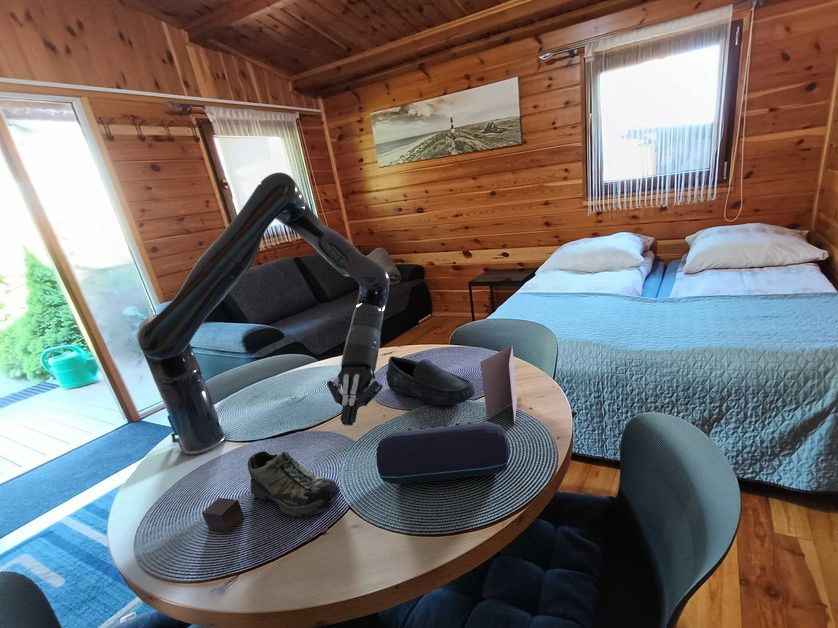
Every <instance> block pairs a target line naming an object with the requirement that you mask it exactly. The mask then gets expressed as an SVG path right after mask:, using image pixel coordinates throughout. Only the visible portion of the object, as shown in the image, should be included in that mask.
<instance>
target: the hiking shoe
mask: <svg viewBox="0 0 838 628" xmlns="http://www.w3.org/2000/svg"><path fill="white" fill-rule="evenodd" d="M247 469H248V472H249V476H250V493H251V494H252V495H253V496H254V498H256V499H258V500H261V501H273V502H274V503H275V504H277V506H278V508H279V510H280V511H281V512H282V513H283V515H287V516H288V517H290V518H302V517H309V516H315V515H317V514H320V513H324V512H326V511H327V510H329V509H331V507H333V505H334V504H335V502H336V501H337V498H338V496H339V493H340V491H341V488H340V486H339V484H337V482H336V481H335V480H333V479H331V478H328V477H324V476H321V475H318V474H316V473H313V472H311V471H310V470H308V469H307V468H305V467H304V466H303V465H302V464H300V463H299V462H298V461H297V460H295V458H294V457H292V455H291V454H290V453H289V451H287V450H283V451H281V452H279V453H278V452H277V453H274V454H271V453H269V452H268V451H266V450H261V451H258V452H256V453H254V454H252V455H251V456H250V457H249V458H248V461H247Z"/></svg>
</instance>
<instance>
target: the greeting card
mask: <svg viewBox="0 0 838 628" xmlns="http://www.w3.org/2000/svg"><path fill="white" fill-rule="evenodd" d="M513 349H514V347H513V345H510V346H508V347H506V348H504V349H502V350H500V351H499V352H498V351H497V352H496V353H494V354H492V355H491V356H489V357H486V358H485V359H483V360H481V361H479V364H480V372H481V379H482V390H483V396H484V405H485V413H486V420H487V421H489V420H490V419H491V418H493V417H495V416H496V415H498V414H499V413H500V412H502V411H503V410H505V409H506V408H507V407H509V406H511V405H512V413H513V424H514V425H515V424H516V414H517V405H518V394H517V392H518V391H517V382H516V371H515V359H514V350H513Z"/></svg>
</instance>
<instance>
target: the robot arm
mask: <svg viewBox="0 0 838 628" xmlns="http://www.w3.org/2000/svg"><path fill="white" fill-rule="evenodd" d="M275 220H276V221H278V222H280V223H281V224H282V225H284V226H286V227H287V228H288V229H290V230H292V231H293V232H294V233H295V234H298V235H299V237H301V238H302V239H303V240H305V241H306V242H307V243H309V245H310V246H312V248H314V250H316V252H318V254H319V255H320V256H321V257H322V258H323V259H324V260H325V261H326V262H327V263H329V264H330V265H331V266H332V267H333V269H335V270H336V271H337V272H338V273H339V274H340V275H342V276H343V277H346V278H352V279H354V280H355V281H356V282H357V284H358V289H359V290H358V297H357V302H356V303H357V304H356V306H355V308H354V309H353V311H352V317H351V322H350V326H349V329H348V332H347V335H346V338H345V344H344V349H343V352H342V358H341V362H340V367H341V369H340V371H339V373H338V374H337V378H335V379H334V380H328V381H327V382H326V385H327V388H328V390H329V392H330V393H331V395H332V397H333V400H334V402H335V403H337V404H338V405H340V406H342V410H341V414H340V422H341V424H342V425H343V426H345V427H353V426H354V424H355V423H356V421H357V417H358V410H359V409H360V408H362V407H367V406H368V405H369V404H370V402H371V401H373V399H374V398H375V397H376V396H377V395H378V394H379V393H380V392H381V391H382V389H383V388H384V386H383V384H382V383H380V382H379V381H378V380H376V374H375V371H376V369H377V364H378V357H379V352H380V347H381V346H380V345H381V335H382V329H383V324H384V313H385V310H386V306H387V302H388V298H389V291H390V284H391V283H390V281H391V280H390V279H391V278H390V276H389V274H388V272H387V270H386V269H385V268H384V267H383V265H381V264H380V263H378V262H377V261H376V260H373V258H371V257H369V256H366V255H364V253H361V252H360V251H359V250H358V249H357V248H356V247H355V246H354V245H353V243H351V242H350V241H349V240H348V239H347V238H345V237H344V235H342V234H341V233H339V232H338V231H336V230H335V229H333V228H331V226H328V225H327V224H325V223H324V222H323V221H322V220H320V218H319V217H318V216H317V215H316V214H315V213H314V212H313V210H312V209H311V208H310V206H309V205H308V204H307V202H306V200H305V197H304V195H303V193H302V192H301V190H300V188H299V186H298V185H297V183H296V181H295V180H294V179H293V178H292V176H291V175H289V174H287V173H286V172H274V173H271V174H268V175H267V176H265V177H264V178H263V179H262V180H261V181H260V182H259V183H258V185H257V186H256V188H255V189H254V191H252V193H251V195H250V196H249V198H248V199H247V201H246V202H245V204H244V205H243V206H242V208H241V210H240V211H239V212H238V213H237V215H236V216H235V217H234V218H233V219H232V221H231V222H230V223H229V224H228V226H226V228H225V229H224V230H223V231H222V233H220V235H219V236H217V238H216V239H215V240H214V241H213V242H212V243H211V245H210V246H209V247H208V248H207V249H206V251H205V252H204V253H202V255H201V256H200V257H199V259H198V260H197V261H196V263H195V264H194V266H193V268H192V269H191V270H190V273H189V274H188V275H187V277H186V279H185V281H184V283H183V284H182V286H181V288H180V290H179V291H178V293H177V294H176V295H175V297H174V298H173V299H172V300H171V301H170V302H169V303H168V304H167V305H166V306H165V307H164V308H163V309H162V311H160V312H159V313H158V314H157V313H155V314H152V315H149V316H147V317H145V318H144V319H143V320H142V321H140V323H139V324H138V326H137V328H136V334H135V335H136V341H137V344H138V347H139V349H140V350H141V352H142V354H143V356H144V358H145V361H146V363H147V366H148V368H149V371H150V373H151V377H152V379H153V381H154V384H155V386H156V388H157V391H158V393H159V396H160V398H161V400H162V402H163V404H164V408H165V409H166V412H167V414H168V415H167V420H168V422H169V425H170V427H171V430H172V433H170V436H171V441H172V443H173V444H174V443H175V444H176V443H177V444H178V446H179V449H180V450H181V451H183V453H184V454H186V455H188V456H189V455H191V456H193V455H194V456H195V455H199V454H203V453H206V452H209V451H211V450H214V449H216V448H217V447H218V446H220V445H221V444H223V443H224V442H225V441H226V439H227V435H226V432H225V431H224V429H223V428H224V427H223V426H222V418H221V416H219V415H218V412H217V409H216V406H215V404H214V401H213V399H212V396H211V393H210V391H209V388H208V386H207V383H206V381H205V378H204V375H203V371H202V370H201V367H200V364H199V362H198V360H197V357H196V355H195V353H194V350H193V347H192V345H191V341H192V340H193V338H194V336H195V335H196V334H197V332H198V331H199V329H200V328H201V326H202V325H203V323H204V322H205V320H206V319H207V318H208V316H209V315H210V314H211V313H212V312H213V311H214V310H215V309H216V307H218V306H219V305H220V304H221V302H222V301H223V300H225V298H226V297H227V296H228V295H229V294H230V293H231V292H232V290H233V289H234V288H235V287H237V285H238V284H239V283H240V282H241V281H242V279H243V278H244V277H245V276H246V275H247V274H248V272H249V271H250V269H251V268H252V267H253V264H254V262H255V260H256V257H257V255H258V252H259V249H260V245H261V242H262V240H263V236H264V235H265V233H266V231H267V230H268V228H269V226H270V225H272V223H273V222H274V221H275ZM341 388H342V389H341Z"/></svg>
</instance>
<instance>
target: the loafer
mask: <svg viewBox="0 0 838 628" xmlns="http://www.w3.org/2000/svg"><path fill="white" fill-rule="evenodd" d="M385 376H386V377H385V378H386V382H387V387H388V388H389V389H390V390H391V391H392V392H394V393H396V394H399V395H403V396H413V397H416V398H418V399H420V400H421V401H424V402H426V403H427V404H429V405H434V406H454V405H457V404H461V403H464V402H466V401H468V400H469V399H471V398H472V397H474V396H475V395H476V388H475V385H474V383H473V382H471V381H470V380H468V379H466V378H464V377H462V376H459V375H456V374H454V373H452V372H449V371H447V370H445V369H443V368H441V367H439V366H437V365H436V364H434V363H433V362H432V361H431V360H430V359H429V358H423V359H421V360H420V361H416V360H413V359H409V358H404V357H397V356H393V355H392V356H390V357H389V358H388V360H387V370H386V371H385Z"/></svg>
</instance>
